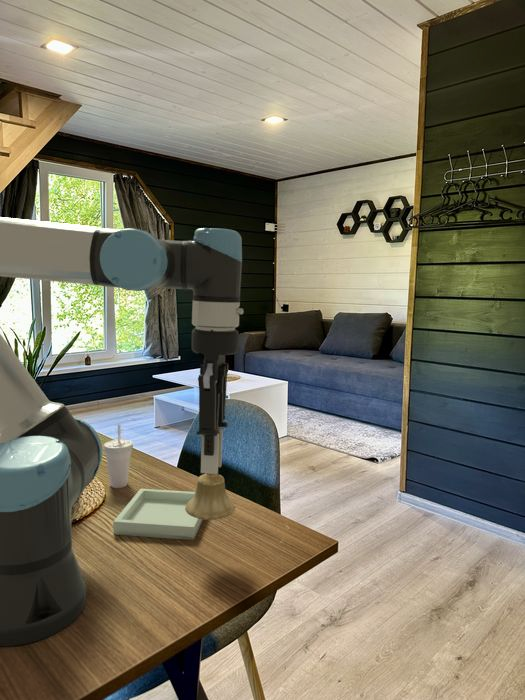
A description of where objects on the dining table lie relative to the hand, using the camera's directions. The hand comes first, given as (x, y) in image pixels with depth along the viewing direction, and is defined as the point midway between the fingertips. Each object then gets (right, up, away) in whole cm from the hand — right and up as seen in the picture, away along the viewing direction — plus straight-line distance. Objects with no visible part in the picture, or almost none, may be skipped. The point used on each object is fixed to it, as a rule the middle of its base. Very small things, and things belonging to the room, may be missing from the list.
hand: (211, 468), depth 84 cm
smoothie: (-24, -11, +31) cm, 41 cm away
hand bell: (0, -7, +1) cm, 7 cm away
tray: (-11, -13, +16) cm, 23 cm away
